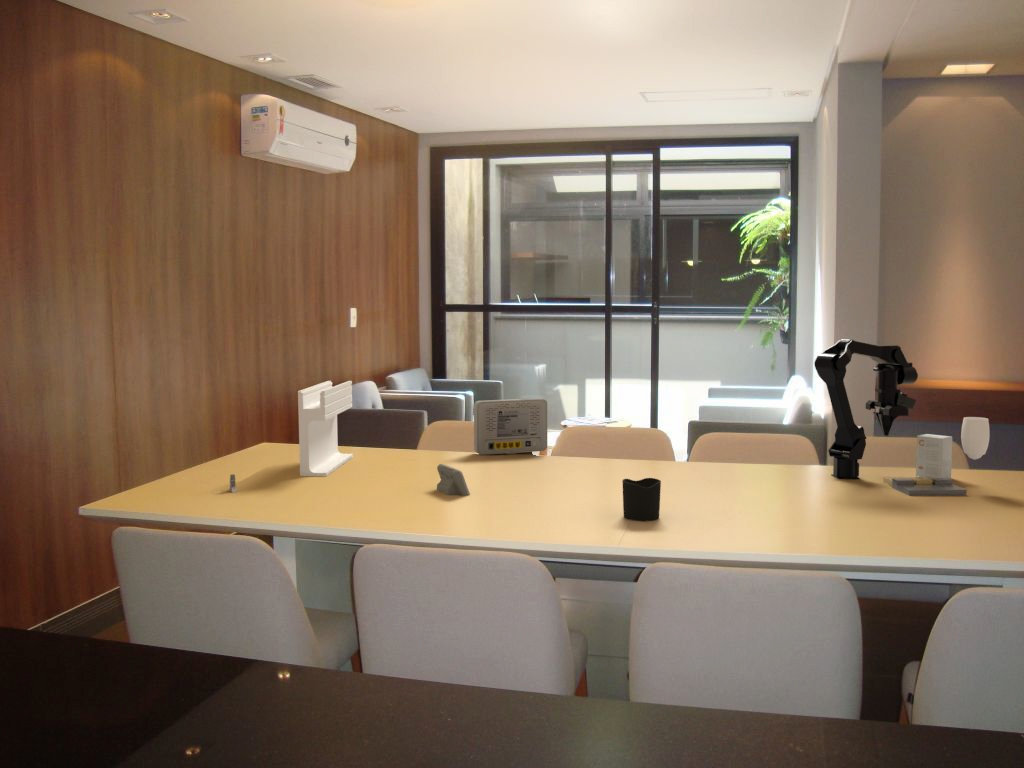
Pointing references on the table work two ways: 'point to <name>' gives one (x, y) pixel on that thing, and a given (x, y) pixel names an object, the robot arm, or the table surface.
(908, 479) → the fixed leaf
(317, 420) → the white device stand
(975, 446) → the grey rounded piece
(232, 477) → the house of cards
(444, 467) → the digital clock
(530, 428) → the network device
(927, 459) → the small box
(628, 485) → the pen holder
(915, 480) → the tan rectangular slab
